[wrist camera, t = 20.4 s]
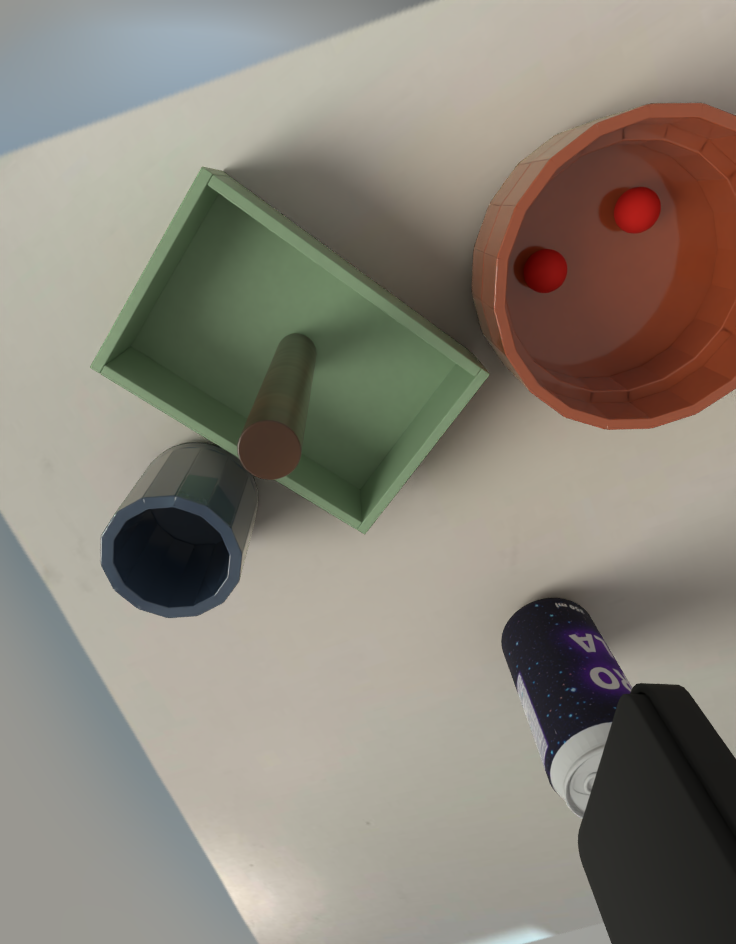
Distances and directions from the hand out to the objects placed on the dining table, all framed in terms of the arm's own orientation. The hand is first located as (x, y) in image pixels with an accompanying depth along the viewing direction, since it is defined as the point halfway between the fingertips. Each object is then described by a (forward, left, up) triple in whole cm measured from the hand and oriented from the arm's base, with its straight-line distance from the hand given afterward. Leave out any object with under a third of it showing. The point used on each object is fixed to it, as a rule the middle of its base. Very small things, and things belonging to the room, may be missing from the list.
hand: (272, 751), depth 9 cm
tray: (-1, -1, -27) cm, 27 cm away
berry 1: (+7, +9, -25) cm, 28 cm away
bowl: (+9, +11, -27) cm, 31 cm away
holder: (-1, -11, -27) cm, 29 cm away
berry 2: (+8, +13, -25) cm, 30 cm away
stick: (-1, -1, -27) cm, 27 cm away
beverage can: (+21, -7, -27) cm, 35 cm away
